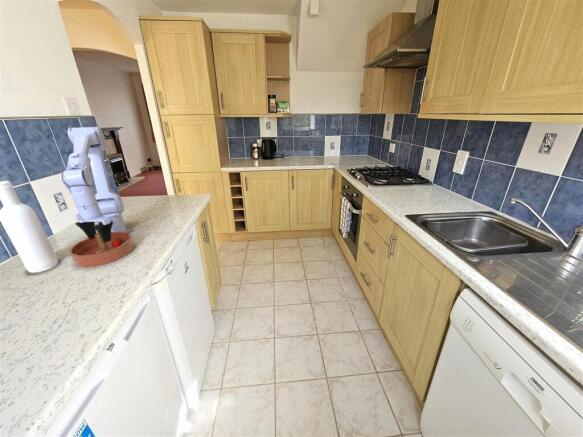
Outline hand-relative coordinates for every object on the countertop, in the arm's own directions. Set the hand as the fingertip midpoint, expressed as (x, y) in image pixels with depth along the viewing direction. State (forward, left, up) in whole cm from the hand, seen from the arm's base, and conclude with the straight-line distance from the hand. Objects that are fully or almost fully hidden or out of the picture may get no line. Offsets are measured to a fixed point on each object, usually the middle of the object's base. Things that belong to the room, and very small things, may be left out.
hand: (100, 239), depth 88 cm
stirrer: (0, 0, -6) cm, 6 cm away
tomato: (0, +5, -4) cm, 6 cm away
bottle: (-13, -13, -6) cm, 19 cm away
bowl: (0, 0, -6) cm, 6 cm away
